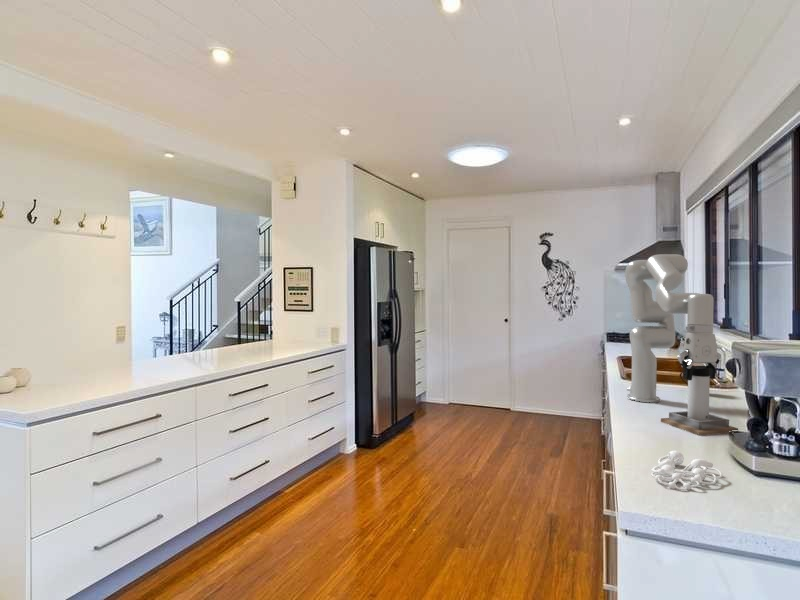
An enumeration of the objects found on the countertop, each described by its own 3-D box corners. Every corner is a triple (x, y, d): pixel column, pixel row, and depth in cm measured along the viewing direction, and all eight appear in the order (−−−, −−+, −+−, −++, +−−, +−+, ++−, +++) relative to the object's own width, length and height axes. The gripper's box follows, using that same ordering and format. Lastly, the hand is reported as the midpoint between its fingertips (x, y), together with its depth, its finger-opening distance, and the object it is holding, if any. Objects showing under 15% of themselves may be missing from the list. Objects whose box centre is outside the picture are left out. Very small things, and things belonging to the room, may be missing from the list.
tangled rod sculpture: (701, 504, 107) (703, 487, 106) (636, 480, 118) (637, 464, 117) (727, 479, 119) (729, 464, 119) (666, 459, 130) (667, 445, 130)
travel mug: (713, 426, 159) (714, 367, 158) (691, 424, 160) (692, 366, 160) (705, 421, 165) (706, 364, 164) (684, 419, 166) (685, 363, 166)
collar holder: (660, 421, 168) (660, 411, 168) (697, 418, 172) (697, 408, 172) (698, 435, 153) (699, 424, 152) (738, 431, 156) (738, 420, 156)
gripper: (688, 331, 156) (687, 382, 156) (730, 330, 160) (729, 379, 160) (670, 329, 163) (669, 378, 163) (710, 328, 167) (709, 375, 167)
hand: (698, 378), depth 162 cm, fingers open, 9 cm apart
